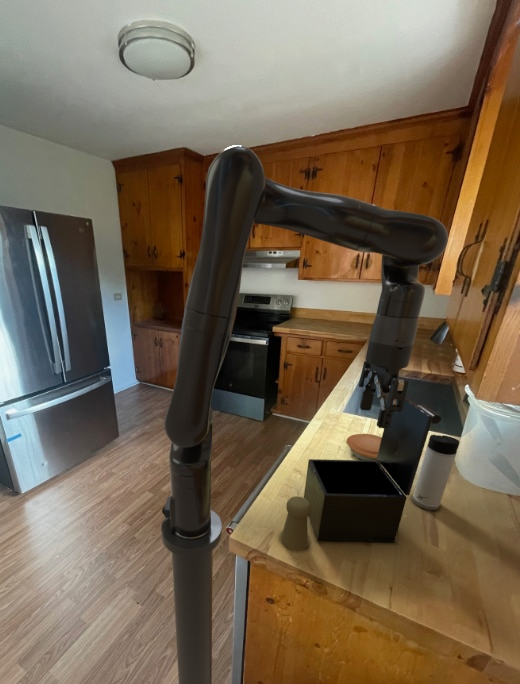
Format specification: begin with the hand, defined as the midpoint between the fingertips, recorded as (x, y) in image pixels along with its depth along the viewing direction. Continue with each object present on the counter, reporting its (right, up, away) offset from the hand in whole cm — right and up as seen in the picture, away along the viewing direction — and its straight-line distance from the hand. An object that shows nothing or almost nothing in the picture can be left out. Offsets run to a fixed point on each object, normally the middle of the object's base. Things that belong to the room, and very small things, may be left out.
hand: (373, 418), depth 68 cm
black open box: (0, -26, +14) cm, 30 cm away
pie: (+19, -15, +44) cm, 50 cm away
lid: (+8, -5, +6) cm, 11 cm away
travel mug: (+24, -24, +20) cm, 40 cm away
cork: (-15, -29, +8) cm, 33 cm away
